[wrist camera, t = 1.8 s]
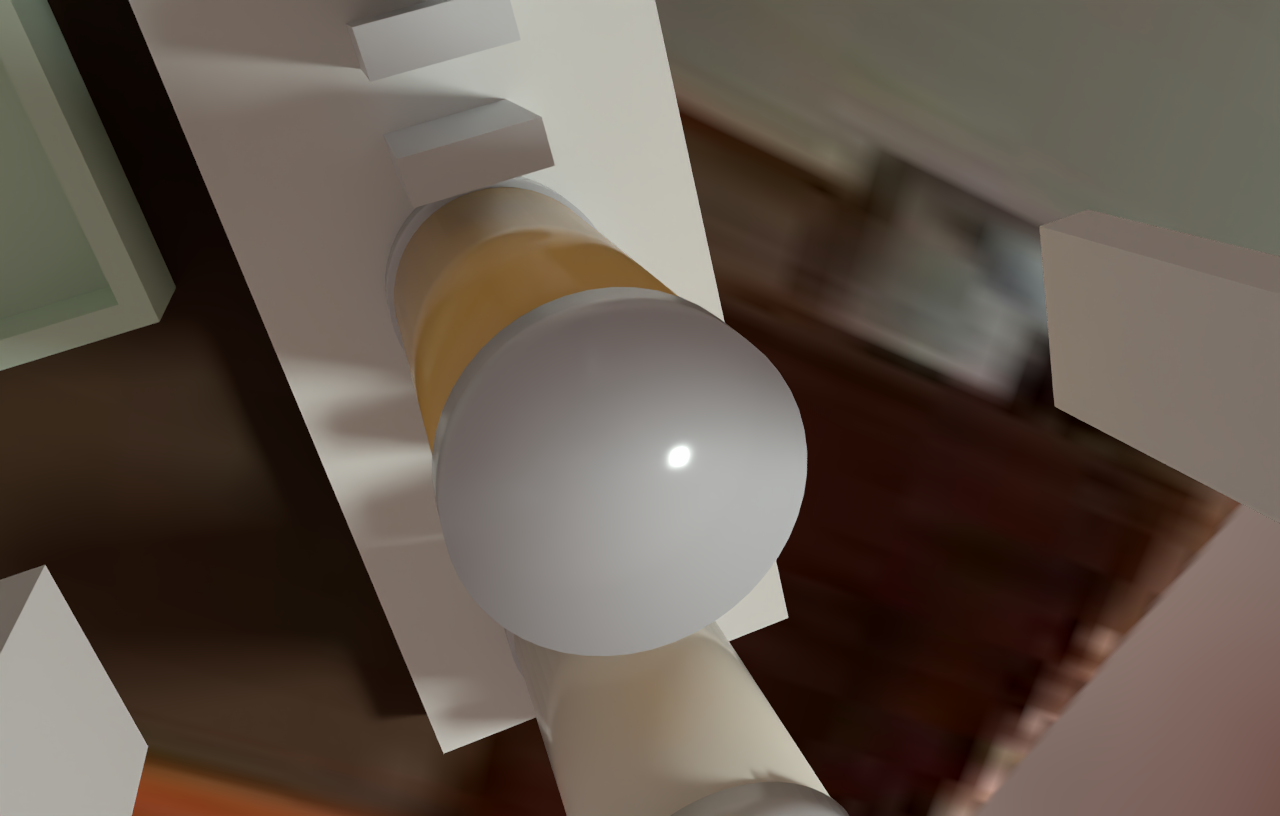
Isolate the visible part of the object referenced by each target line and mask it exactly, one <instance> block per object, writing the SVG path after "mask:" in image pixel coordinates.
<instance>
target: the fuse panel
mask: <svg viewBox="0 0 1280 816" xmlns="http://www.w3.org/2000/svg"><path fill="white" fill-rule="evenodd" d="M129 3H130V5H131V7H132V10H133V12H134V14H135V17H136V19H137V22H138V24H139V26H140V29H141V31H142V34H143V36H144V38H145V41H146V43H147V46H148V48H149V50H150V53H151V55H152V58H153V60H154V62H155V65H156V67H157V69H158V72H159V74H160V77H161V79H162V81H163V84H164V86H165V89H166V91H167V93H168V96H169V98H170V101H171V103H172V105H173V108H174V110H175V113H176V115H177V117H178V120H179V122H180V124H181V127H182V129H183V132H184V134H185V136H186V139H187V141H188V144H189V146H190V148H191V151H192V153H193V156H194V158H195V160H196V163H197V165H198V167H199V170H200V172H201V175H202V177H203V179H204V182H205V184H206V187H207V189H208V191H209V194H210V196H211V199H212V201H213V203H214V206H215V208H216V211H217V213H218V215H219V218H220V220H221V222H222V225H223V227H224V230H225V232H226V234H227V237H228V239H229V242H230V244H231V246H232V249H233V251H234V254H235V256H236V258H237V261H238V263H239V266H240V268H241V270H242V273H243V275H244V277H245V280H246V282H247V285H248V287H249V289H250V292H251V294H252V297H253V299H254V301H255V304H256V306H257V309H258V311H259V313H260V316H261V318H262V321H263V323H264V325H265V328H266V330H267V332H268V335H269V337H270V340H271V342H272V344H273V347H274V349H275V352H276V354H277V356H278V359H279V361H280V364H281V366H282V368H283V371H284V373H285V376H286V378H287V380H288V383H289V385H290V387H291V390H292V392H293V395H294V397H295V399H296V402H297V404H298V407H299V409H300V411H301V414H302V416H303V419H304V421H305V423H306V426H307V428H308V430H309V433H310V435H311V438H312V440H313V442H314V445H315V447H316V450H317V452H318V454H319V457H320V459H321V462H322V464H323V466H324V469H325V471H326V474H327V476H328V478H329V481H330V483H331V485H332V488H333V490H334V493H335V495H336V497H337V500H338V502H339V505H340V507H341V509H342V512H343V514H344V517H345V519H346V521H347V524H348V526H349V529H350V531H351V533H352V536H353V538H354V540H355V543H356V545H357V548H358V550H359V552H360V555H361V557H362V560H363V562H364V564H365V567H366V569H367V572H368V574H369V576H370V579H371V581H372V584H373V586H374V588H375V591H376V593H377V595H378V598H379V600H380V603H381V605H382V607H383V610H384V612H385V615H386V617H387V619H388V622H389V624H390V627H391V629H392V631H393V634H394V636H395V639H396V641H397V643H398V646H399V648H400V650H401V653H402V655H403V658H404V660H405V662H406V665H407V667H408V670H409V672H410V674H411V677H412V679H413V682H414V684H415V686H416V689H417V691H418V693H419V696H420V698H421V701H422V703H423V705H424V708H425V710H426V713H427V715H428V717H429V720H430V722H431V725H432V727H433V729H434V732H435V734H436V737H437V739H438V741H439V744H440V746H441V748H442V751H443V753H446V752H449V751H451V750H454V749H456V748H459V747H461V746H464V745H467V744H469V743H472V742H474V741H477V740H479V739H482V738H484V737H487V736H489V735H492V734H494V733H497V732H500V731H502V730H505V729H507V728H510V727H512V726H515V725H517V724H520V723H522V722H525V721H527V720H530V719H533V718H535V717H536V715H535V712H534V708H533V705H532V702H531V699H530V696H529V692H528V689H527V686H526V683H525V680H524V678H523V676H522V675H521V673H520V672H519V670H518V669H517V666H516V664H515V662H514V660H513V657H512V653H511V650H510V647H509V643H508V640H507V637H506V633H505V630H504V627H502V626H501V625H500V624H499V623H497V622H496V621H495V620H494V619H492V618H491V617H490V616H489V615H488V614H486V613H485V611H484V610H483V609H482V608H481V607H480V606H479V605H478V604H477V603H476V602H475V601H474V599H473V598H472V597H471V596H470V594H469V593H468V591H467V590H466V588H465V587H464V585H463V584H462V582H461V581H460V579H459V577H458V575H457V573H456V571H455V568H454V566H453V564H452V562H451V560H450V557H449V553H448V550H447V546H446V543H445V539H444V536H443V532H442V528H441V523H440V519H439V515H438V511H437V507H436V503H435V498H434V491H433V483H432V453H431V449H430V446H429V442H428V438H427V434H426V430H425V426H424V423H423V419H422V415H421V411H420V407H419V403H418V400H417V396H416V392H415V388H414V384H413V380H412V376H411V373H410V369H409V365H408V361H407V357H406V353H405V352H404V350H403V348H402V347H401V345H400V343H399V341H398V338H397V336H396V334H395V331H394V328H393V324H392V321H391V317H390V313H389V309H388V305H387V298H386V291H385V274H386V267H387V260H388V257H389V253H390V250H391V246H392V244H393V242H394V239H395V237H396V235H397V233H398V231H399V230H400V228H401V226H402V225H403V223H404V221H405V220H406V219H407V217H408V216H409V215H410V214H411V213H412V211H413V210H414V209H415V208H416V207H419V206H423V205H426V204H429V203H433V202H436V201H439V200H443V199H446V198H449V197H453V196H456V195H459V194H463V193H466V192H469V191H472V190H476V189H479V188H482V187H486V186H489V185H492V184H496V183H499V182H502V181H506V180H509V179H512V178H516V177H519V176H521V177H525V178H528V179H531V180H534V181H537V182H539V183H541V184H543V185H545V186H547V187H549V188H551V189H552V190H554V191H556V192H557V193H559V194H560V195H562V196H563V197H564V198H565V199H567V200H568V201H569V202H571V203H572V204H573V205H574V206H575V207H577V208H578V209H579V210H580V211H581V212H582V213H583V214H584V215H585V216H586V217H587V218H588V219H589V220H590V222H591V223H592V224H593V225H594V227H595V228H596V230H597V231H598V232H599V233H601V234H602V235H603V236H604V237H606V238H607V239H608V240H609V241H611V242H612V243H613V244H614V245H616V246H617V247H618V248H619V249H621V250H622V251H623V252H624V253H626V254H627V255H628V256H629V257H630V258H632V259H633V260H634V261H635V262H637V263H638V264H639V265H640V266H642V267H643V268H644V269H645V270H647V271H648V272H649V273H650V274H652V275H653V276H654V277H655V278H657V279H658V280H659V281H660V282H661V283H663V284H664V285H665V286H666V287H668V288H669V289H670V290H671V291H673V292H674V293H675V294H676V295H678V296H679V297H681V298H684V299H686V300H688V301H690V302H692V303H695V304H697V305H699V306H701V307H702V308H704V309H706V310H707V311H709V312H710V313H712V314H713V315H715V316H717V317H718V318H719V319H721V320H722V321H723V322H724V318H723V313H722V309H721V304H720V299H719V295H718V290H717V286H716V281H715V276H714V272H713V267H712V262H711V258H710V253H709V249H708V244H707V239H706V235H705V230H704V225H703V221H702V216H701V211H700V207H699V202H698V198H697V193H696V188H695V184H694V179H693V174H692V170H691V165H690V161H689V156H688V151H687V147H686V142H685V137H684V133H683V128H682V124H681V119H680V114H679V110H678V105H677V100H676V96H675V91H674V87H673V82H672V77H671V73H670V68H669V63H668V59H667V54H666V49H665V45H664V40H663V36H662V31H661V26H660V22H659V17H658V12H657V8H656V3H655V0H129ZM786 618H788V614H787V610H786V605H785V600H784V596H783V591H782V586H781V582H780V577H779V573H778V568H777V563H776V561H775V562H774V563H773V565H772V566H771V568H770V569H769V570H768V572H767V573H766V575H765V576H764V577H763V578H762V579H761V580H760V582H759V583H758V584H757V585H756V586H755V587H754V588H753V589H752V591H751V592H750V593H749V594H748V595H746V596H745V597H744V598H743V599H742V600H741V601H740V602H739V603H738V604H737V605H735V606H734V607H733V608H732V609H731V610H729V611H728V612H727V613H725V614H724V615H722V616H721V617H720V618H718V619H717V620H716V623H717V624H718V626H719V627H720V629H721V630H722V632H723V633H724V635H725V636H726V638H727V640H728V641H730V640H733V639H736V638H738V637H741V636H743V635H746V634H748V633H751V632H753V631H756V630H758V629H761V628H763V627H766V626H769V625H771V624H774V623H776V622H779V621H781V620H784V619H786Z"/></svg>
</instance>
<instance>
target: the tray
mask: <svg viewBox="0 0 1280 816" xmlns="http://www.w3.org/2000/svg"><path fill="white" fill-rule="evenodd" d="M175 289H176V286H175V284H174V281H173V279H172V277H171V275H170V273H169V270H168V268H167V266H166V264H165V261H164V259H163V257H162V255H161V253H160V250H159V248H158V246H157V244H156V241H155V239H154V237H153V235H152V233H151V230H150V228H149V226H148V224H147V221H146V219H145V217H144V215H143V213H142V210H141V208H140V206H139V204H138V201H137V199H136V197H135V195H134V193H133V190H132V188H131V186H130V184H129V181H128V179H127V177H126V175H125V172H124V170H123V168H122V166H121V164H120V161H119V159H118V157H117V155H116V152H115V150H114V148H113V146H112V144H111V141H110V139H109V137H108V135H107V132H106V130H105V128H104V126H103V124H102V121H101V119H100V117H99V115H98V112H97V110H96V108H95V106H94V104H93V101H92V99H91V97H90V95H89V92H88V90H87V88H86V86H85V84H84V81H83V79H82V77H81V75H80V72H79V70H78V68H77V66H76V63H75V61H74V59H73V57H72V55H71V52H70V50H69V48H68V46H67V43H66V41H65V39H64V37H63V35H62V32H61V30H60V28H59V26H58V23H57V21H56V19H55V17H54V15H53V12H52V10H51V8H50V6H49V3H48V1H47V0H0V371H1V370H4V369H7V368H11V367H14V366H17V365H20V364H24V363H27V362H30V361H33V360H37V359H40V358H43V357H46V356H50V355H53V354H56V353H59V352H63V351H66V350H69V349H72V348H76V347H79V346H82V345H85V344H89V343H92V342H95V341H98V340H102V339H105V338H108V337H111V336H115V335H118V334H121V333H125V332H128V331H131V330H134V329H138V328H141V327H144V326H147V325H151V324H154V323H157V322H160V320H161V318H162V316H163V314H164V311H165V309H166V307H167V305H168V303H169V301H170V299H171V297H172V295H173V293H174V291H175Z"/></svg>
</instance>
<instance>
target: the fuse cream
mask: <svg viewBox="0 0 1280 816" xmlns="http://www.w3.org/2000/svg"><path fill="white" fill-rule="evenodd" d="M504 630H505V633H506V637H507V640H508V643H509V647H510V650H511V653H512V657H513V660H514V662H515V664H516V666H517V669H518V670H519V672H520V673H521V675H522V676H523V678H524V680H525V683H526V686H527V689H528V692H529V696H530V699H531V702H532V705H533V708H534V712H535V715H536V718H537V721H538V724H539V728H540V731H541V734H542V737H543V740H544V744H545V747H546V750H547V753H548V756H549V760H550V763H551V766H552V769H553V772H554V776H555V779H556V782H557V785H558V788H559V792H560V795H561V798H562V801H563V804H564V808H565V811H566V814H567V816H849V814H848V813H847V812H846V810H845V809H844V808H843V807H842V806H841V805H839V804H838V803H837V802H836V801H835V800H834V799H832V798H831V797H830V796H829V795H828V793H827V791H826V790H825V788H824V787H823V785H822V784H821V782H820V781H819V779H818V778H817V776H816V775H815V773H814V771H813V770H812V768H811V767H810V765H809V764H808V762H807V761H806V759H805V758H804V756H803V755H802V753H801V752H800V750H799V748H798V747H797V745H796V744H795V742H794V741H793V739H792V738H791V736H790V735H789V733H788V732H787V730H786V729H785V727H784V725H783V724H782V722H781V721H780V719H779V718H778V716H777V715H776V713H775V712H774V710H773V709H772V707H771V706H770V704H769V702H768V701H767V699H766V698H765V696H764V695H763V693H762V692H761V690H760V689H759V687H758V686H757V684H756V682H755V681H754V679H753V678H752V676H751V675H750V673H749V672H748V670H747V669H746V667H745V666H744V664H743V663H742V661H741V659H740V658H739V656H738V655H737V653H736V652H735V650H734V649H733V647H732V646H731V644H730V643H729V641H728V640H727V638H726V636H725V635H724V633H723V632H722V630H721V629H720V627H719V626H718V624H717V623H716V621H714V622H712V623H711V624H709V625H707V626H706V627H704V628H702V629H701V630H699V631H697V632H695V633H693V634H691V635H689V636H687V637H684V638H682V639H680V640H678V641H676V642H673V643H670V644H667V645H664V646H661V647H658V648H655V649H652V650H647V651H642V652H638V653H633V654H626V655H616V656H583V655H576V654H569V653H562V652H559V651H555V650H552V649H548V648H544V647H541V646H539V645H536V644H534V643H532V642H529V641H527V640H525V639H522V638H520V637H519V636H517V635H515V634H514V633H512V632H510V631H509V630H507V629H505V628H504Z"/></svg>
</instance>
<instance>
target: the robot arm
mask: <svg viewBox="0 0 1280 816" xmlns="http://www.w3.org/2000/svg"><path fill="white" fill-rule="evenodd" d="M1039 227H1040V239H1041V250H1042V262H1043V274H1044V286H1045V298H1046V309H1047V321H1048V333H1049V345H1050V357H1051V369H1052V380H1053V392H1054V404H1055V407H1057V408H1059V409H1061V410H1063V411H1065V412H1067V413H1068V414H1070V415H1072V416H1074V417H1076V418H1078V419H1080V420H1082V421H1084V422H1086V423H1088V424H1090V425H1091V426H1093V427H1095V428H1097V429H1099V430H1101V431H1103V432H1105V433H1107V434H1109V435H1111V436H1113V437H1115V438H1116V439H1118V440H1120V441H1122V442H1124V443H1126V444H1128V445H1130V446H1132V447H1134V448H1136V449H1138V450H1139V451H1141V452H1143V453H1145V454H1147V455H1149V456H1151V457H1153V458H1155V459H1157V460H1159V461H1161V462H1162V463H1164V464H1166V465H1168V466H1170V467H1172V468H1174V469H1176V470H1178V471H1180V472H1182V473H1184V474H1186V475H1187V476H1189V477H1191V478H1193V479H1195V480H1197V481H1199V482H1201V483H1203V484H1205V485H1207V486H1209V487H1210V488H1212V489H1214V490H1216V491H1218V492H1220V493H1222V494H1224V495H1226V496H1228V497H1230V498H1232V499H1233V500H1235V501H1237V502H1239V503H1241V504H1243V505H1245V506H1247V507H1249V508H1251V509H1253V510H1255V511H1257V512H1258V513H1260V514H1262V515H1264V516H1266V517H1268V518H1270V519H1272V520H1274V521H1276V522H1278V523H1280V256H1276V255H1272V254H1268V253H1263V252H1259V251H1255V250H1251V249H1247V248H1243V247H1239V246H1235V245H1231V244H1226V243H1222V242H1218V241H1214V240H1210V239H1206V238H1202V237H1198V236H1194V235H1190V234H1185V233H1181V232H1177V231H1173V230H1169V229H1165V228H1161V227H1157V226H1153V225H1148V224H1144V223H1140V222H1136V221H1132V220H1128V219H1124V218H1120V217H1116V216H1111V215H1107V214H1103V213H1099V212H1095V211H1091V210H1086V211H1083V212H1080V213H1077V214H1074V215H1071V216H1068V217H1065V218H1062V219H1059V220H1056V221H1054V222H1051V223H1048V224H1045V225H1042V226H1039ZM147 748H148V746H147V744H146V742H145V740H144V739H143V737H142V735H141V733H140V731H139V730H138V728H137V726H136V724H135V723H134V721H133V719H132V717H131V716H130V714H129V712H128V710H127V708H126V707H125V705H124V703H123V701H122V700H121V698H120V696H119V694H118V693H117V691H116V689H115V687H114V685H113V684H112V682H111V680H110V678H109V677H108V675H107V673H106V671H105V670H104V668H103V666H102V664H101V663H100V661H99V659H98V657H97V655H96V654H95V652H94V650H93V648H92V647H91V645H90V643H89V641H88V640H87V638H86V636H85V634H84V632H83V631H82V629H81V627H80V625H79V624H78V622H77V620H76V618H75V617H74V615H73V613H72V611H71V609H70V608H69V606H68V604H67V602H66V601H65V599H64V597H63V595H62V594H61V592H60V590H59V588H58V586H57V585H56V583H55V581H54V579H53V578H52V576H51V574H50V572H49V571H48V569H47V567H46V565H43V566H40V567H37V568H34V569H31V570H28V571H25V572H22V573H19V574H16V575H13V576H10V577H7V578H4V579H2V580H0V816H132V812H133V808H134V803H135V799H136V795H137V791H138V786H139V782H140V778H141V774H142V770H143V765H144V761H145V757H146V753H147Z"/></svg>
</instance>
